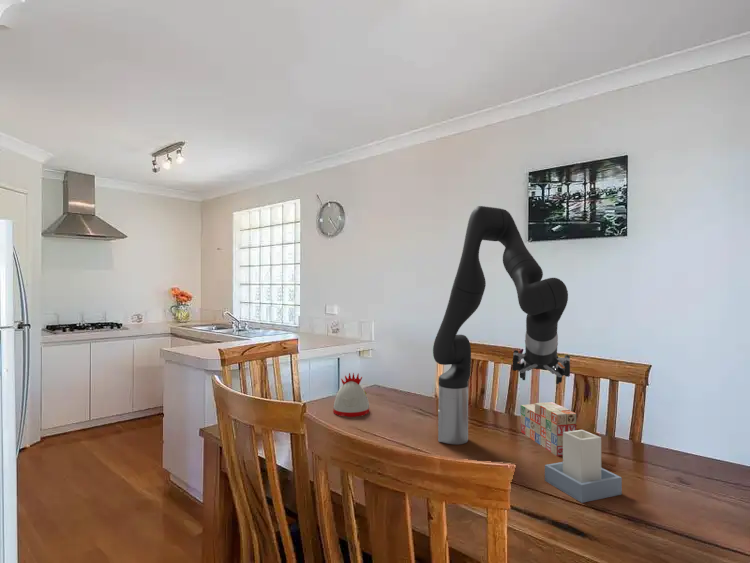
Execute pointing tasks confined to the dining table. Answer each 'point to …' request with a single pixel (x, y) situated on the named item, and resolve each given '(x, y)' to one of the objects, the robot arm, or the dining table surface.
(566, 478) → the slate crate
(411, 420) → the dining table surface
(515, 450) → the dining table surface
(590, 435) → the cream caddy
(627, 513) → the dining table surface
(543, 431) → the stack of blocks
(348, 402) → the kitchen timer
